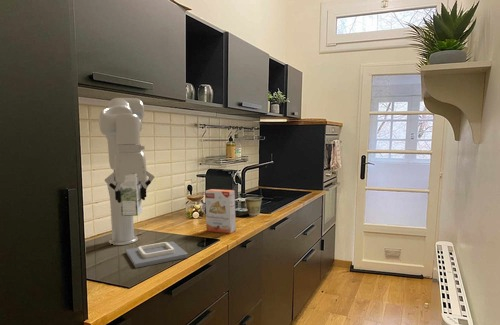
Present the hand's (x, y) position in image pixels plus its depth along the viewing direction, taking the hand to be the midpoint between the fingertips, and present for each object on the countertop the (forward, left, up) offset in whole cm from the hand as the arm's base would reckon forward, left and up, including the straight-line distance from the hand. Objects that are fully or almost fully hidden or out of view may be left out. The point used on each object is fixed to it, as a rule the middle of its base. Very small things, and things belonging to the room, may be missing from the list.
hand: (131, 200), depth 118 cm
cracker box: (-32, +48, -26) cm, 63 cm away
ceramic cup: (-57, +82, -26) cm, 103 cm away
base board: (-14, +11, -25) cm, 31 cm away
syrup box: (0, 0, -5) cm, 5 cm away
